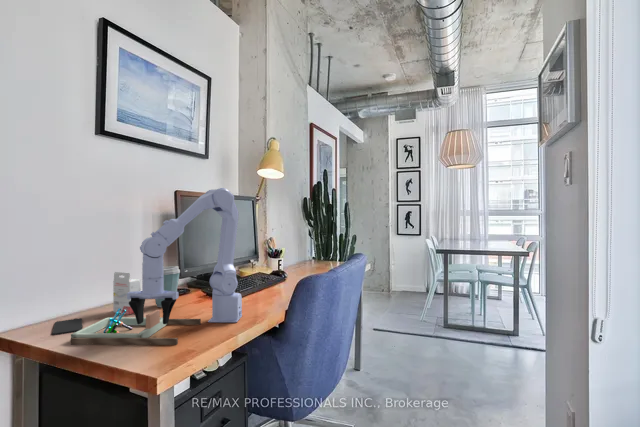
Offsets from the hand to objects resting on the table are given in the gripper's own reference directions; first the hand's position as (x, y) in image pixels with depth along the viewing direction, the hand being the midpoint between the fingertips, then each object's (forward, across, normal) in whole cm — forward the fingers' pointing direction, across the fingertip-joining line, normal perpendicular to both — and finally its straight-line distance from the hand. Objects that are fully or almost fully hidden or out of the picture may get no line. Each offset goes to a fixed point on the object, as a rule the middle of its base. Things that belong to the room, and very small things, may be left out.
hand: (153, 323), depth 103 cm
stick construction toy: (+3, -10, 0) cm, 11 cm away
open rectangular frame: (+3, -9, 0) cm, 10 cm away
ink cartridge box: (+3, -21, +23) cm, 31 cm away
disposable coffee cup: (+3, -11, +32) cm, 34 cm away
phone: (+4, -30, +6) cm, 31 cm away
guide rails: (+3, -4, 0) cm, 5 cm away
